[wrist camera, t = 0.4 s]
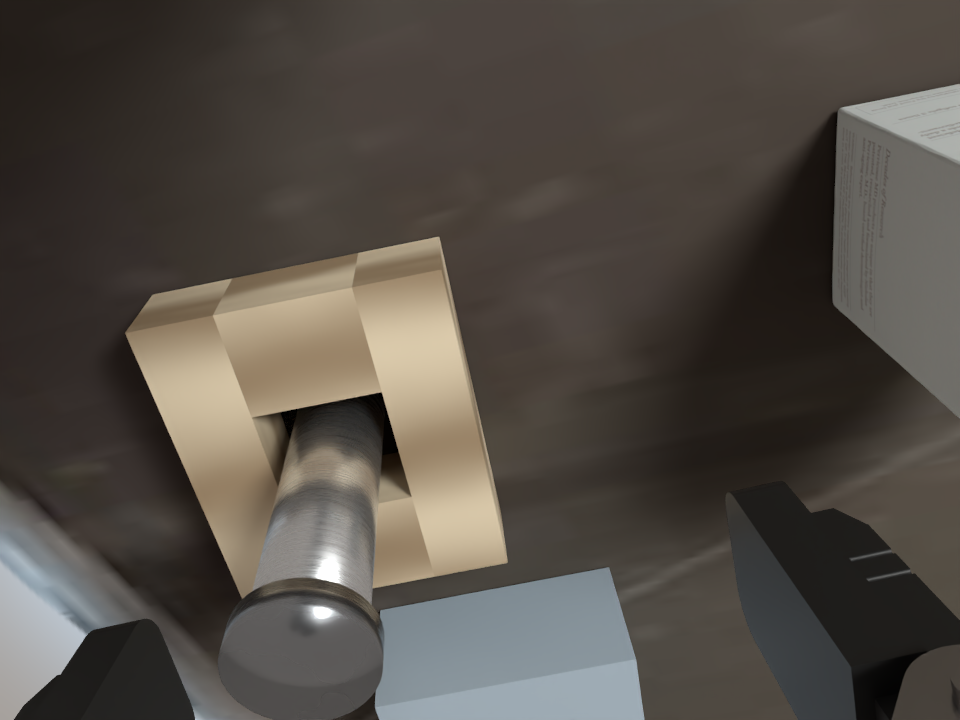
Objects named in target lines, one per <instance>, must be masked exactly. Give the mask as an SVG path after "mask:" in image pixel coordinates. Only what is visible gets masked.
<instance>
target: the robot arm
mask: <svg viewBox="0 0 960 720" xmlns="http://www.w3.org/2000/svg"><path fill="white" fill-rule="evenodd" d="M725 504H726V513H727V520H728V526H729V533H730V540H731V546H732V553H733V560H734V566H735V573H736V580H737V586H738V592H739V597H740V601H741V605H742V609H743V612H744V615H745V618H746V621H747V624H748V627H749V629H750V632H751V634H752V636H753V638H754V640H755V642H756V644H757V645H758V647H759V649H760V651H761V653H762V655H763V656H764V658H765V660H766V662H767V664H768V665H769V667H770V669H771V671H772V673H773V675H774V676H775V678H776V680H777V682H778V684H779V686H780V687H781V689H782V691H783V693H784V695H785V696H786V698H787V700H788V702H789V704H790V706H791V707H792V709H793V711H794V713H795V715H796V716H797V718H798V720H960V620H959V619H958V618H957V617H956V616H955V615H954V614H953V613H952V612H951V611H950V610H949V609H948V608H947V607H946V606H945V605H944V604H943V603H942V602H941V601H940V599H939V598H938V597H937V596H936V595H935V594H934V593H933V592H932V591H931V590H930V589H929V588H928V587H927V586H926V585H925V584H924V583H923V582H922V581H921V580H920V578H919V577H918V576H917V575H916V574H915V573H914V574H912V573H911V571H910V568H909V567H908V566H907V565H906V564H905V563H904V562H903V561H902V560H901V559H900V558H899V556H898V555H897V554H896V553H894V554H893V553H892V551H891V548H890V547H889V546H888V545H887V544H886V543H885V542H884V541H883V540H882V539H881V538H880V537H879V536H878V534H877V533H876V532H875V531H874V530H873V529H872V528H871V527H870V526H869V525H868V524H865V523H863V522H861V521H859V520H857V519H855V518H853V517H851V516H849V515H846V514H844V513H842V512H840V511H838V510H836V509H834V508H832V509H828V510H823V511H818V512H814V513H810V511H809V510H808V509H807V508H806V507H805V506H804V504H803V503H802V502H801V501H800V500H799V498H798V497H797V496H796V495H795V494H794V493H793V491H792V490H791V489H790V488H789V487H788V485H787V484H786V483H785V482H783V481H778V482H773V483H769V484H764V485H760V486H755V487H750V488H746V489H741V490H737V491H732V492H728V493H727V494H726V498H725ZM14 720H195V717H194V712H193V708H192V706H191V703H190V700H189V698H188V696H187V693H186V691H185V689H184V686H183V684H182V681H181V679H180V677H179V674H178V672H177V669H176V667H175V665H174V662H173V660H172V658H171V655H170V653H169V650H168V648H167V646H166V643H165V641H164V638H163V636H162V634H161V632H160V630H159V628H158V626H157V625H156V624H155V623H154V622H153V621H152V620H150V619H142V620H137V621H133V622H128V623H123V624H119V625H114V626H110V627H105V628H101V629H96V630H93V631H91V632H90V633H89V634H88V635H87V636H86V637H85V639H84V640H83V642H82V644H81V645H80V646H79V648H78V649H77V651H76V652H75V654H74V655H73V657H72V658H71V660H70V661H69V663H68V664H67V666H66V667H65V669H64V670H63V672H62V674H61V675H57V676H56V677H55V678H54V679H52V680H51V681H50V682H49V683H48V684H47V685H46V686H45V687H44V688H43V689H41V690H40V691H39V692H38V693H37V694H36V695H35V696H34V697H33V698H32V699H30V701H28V702H27V703H26V704H25V705H24V706H23V707H22V709H21V710H20V712H19V713H18V714H17V716H16V717H15V719H14Z"/></svg>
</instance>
